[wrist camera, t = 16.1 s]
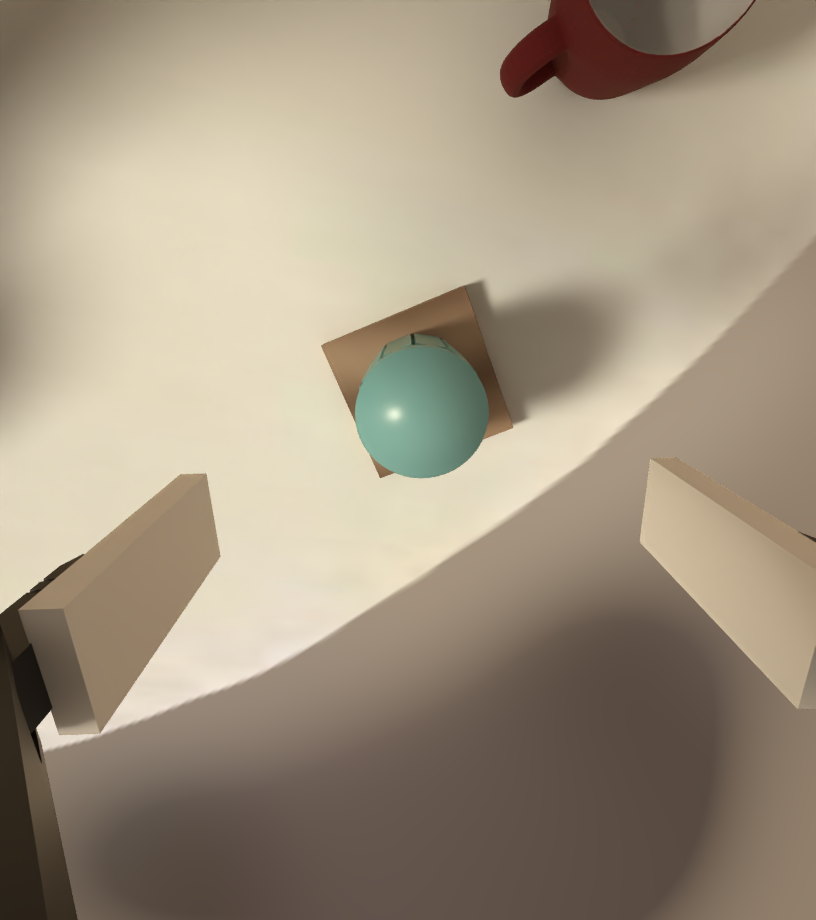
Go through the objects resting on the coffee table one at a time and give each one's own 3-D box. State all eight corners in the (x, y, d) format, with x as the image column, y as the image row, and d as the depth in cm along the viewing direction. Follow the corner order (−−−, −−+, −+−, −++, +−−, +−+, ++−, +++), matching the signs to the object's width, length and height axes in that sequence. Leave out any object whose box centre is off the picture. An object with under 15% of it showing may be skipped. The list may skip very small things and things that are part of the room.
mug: (531, 189, 31) (585, 144, 22) (457, 63, 29) (481, -47, 20) (685, 68, 29) (819, -38, 20) (618, -76, 27) (731, -272, 18)
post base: (324, 343, 34) (304, 355, 28) (462, 286, 33) (475, 284, 27) (381, 472, 37) (375, 510, 31) (510, 423, 36) (532, 451, 30)
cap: (349, 358, 33) (333, 378, 26) (449, 317, 32) (461, 325, 25) (390, 452, 35) (386, 496, 28) (484, 415, 35) (506, 450, 27)
